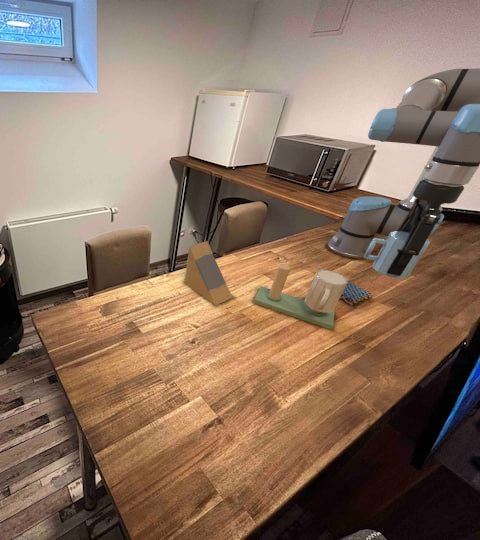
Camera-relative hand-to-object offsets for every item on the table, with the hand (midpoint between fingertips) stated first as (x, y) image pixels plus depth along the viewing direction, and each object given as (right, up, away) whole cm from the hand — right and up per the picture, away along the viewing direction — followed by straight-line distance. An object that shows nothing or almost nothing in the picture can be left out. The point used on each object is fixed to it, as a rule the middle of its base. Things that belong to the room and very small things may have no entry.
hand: (391, 266), depth 78 cm
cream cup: (-14, -12, +9) cm, 20 cm away
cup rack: (-18, -13, +15) cm, 27 cm away
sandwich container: (-43, -8, +23) cm, 49 cm away
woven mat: (+4, -9, +22) cm, 24 cm away
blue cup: (-1, -1, +1) cm, 2 cm away
